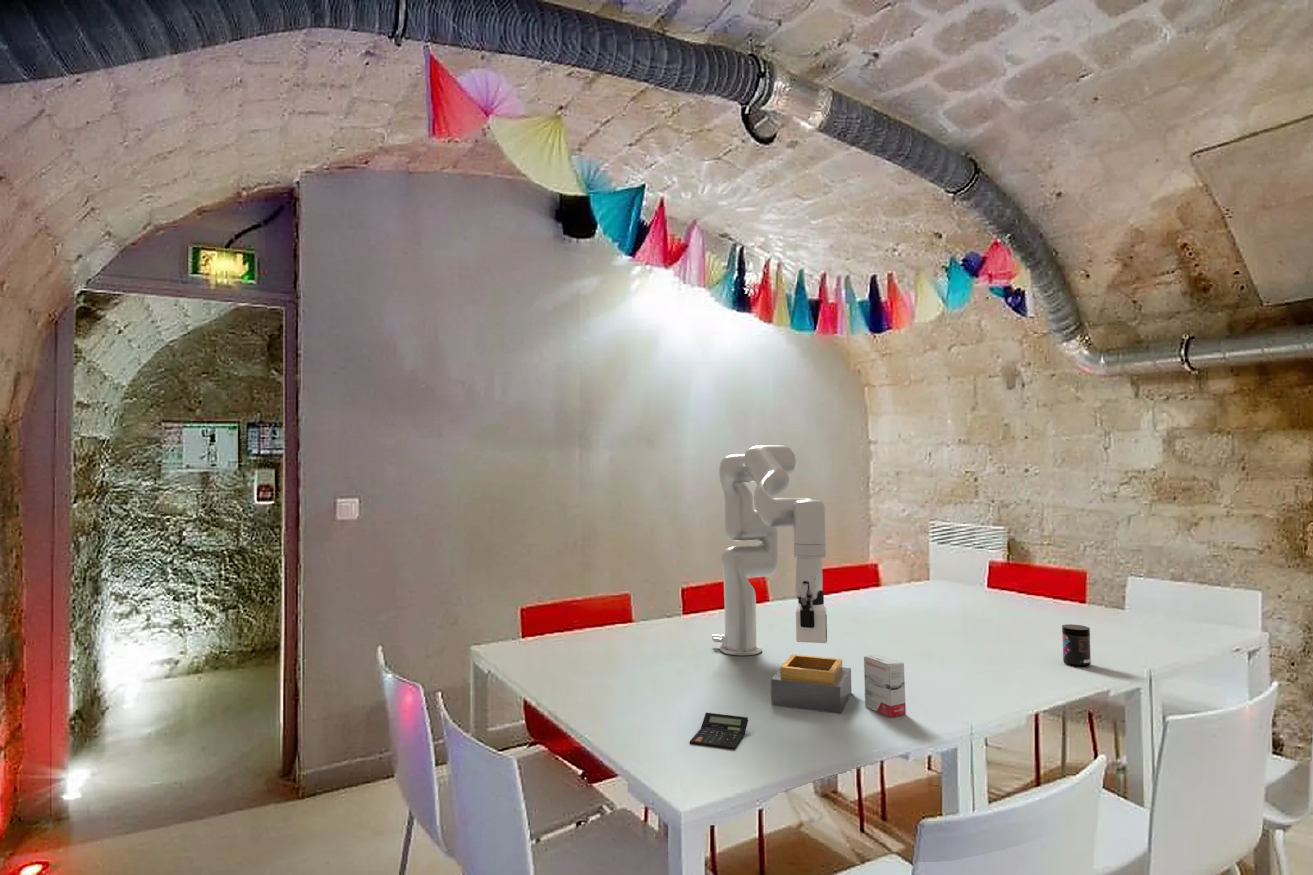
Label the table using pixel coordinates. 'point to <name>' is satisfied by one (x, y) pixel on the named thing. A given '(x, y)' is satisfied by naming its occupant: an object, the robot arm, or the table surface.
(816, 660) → the drawer box
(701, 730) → the calculator
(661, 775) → the table surface
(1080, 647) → the supplement container
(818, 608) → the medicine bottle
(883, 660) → the ink box
